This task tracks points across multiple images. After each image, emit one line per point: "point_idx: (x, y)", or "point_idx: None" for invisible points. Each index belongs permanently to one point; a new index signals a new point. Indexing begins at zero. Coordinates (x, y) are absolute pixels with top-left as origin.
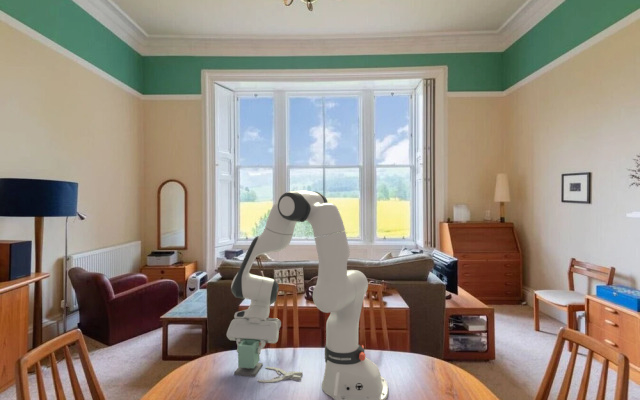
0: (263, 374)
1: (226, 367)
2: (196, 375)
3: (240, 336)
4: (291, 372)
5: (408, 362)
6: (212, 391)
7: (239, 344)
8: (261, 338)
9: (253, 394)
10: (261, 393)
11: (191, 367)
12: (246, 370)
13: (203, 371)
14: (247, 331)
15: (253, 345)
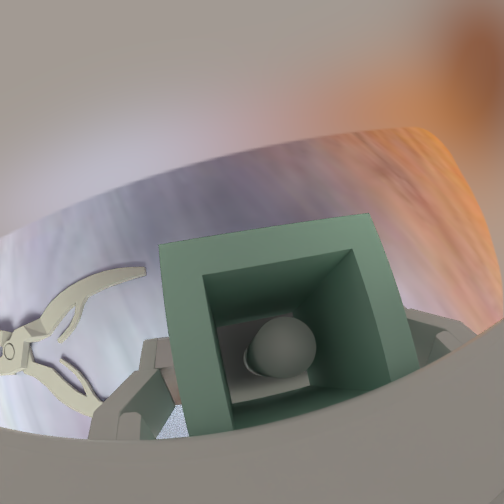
0: None
1: None
2: (437, 224)
3: (476, 347)
4: (11, 360)
5: None
6: (302, 154)
7: (378, 245)
8: (110, 447)
9: (127, 184)
10: (98, 199)
11: (486, 263)
12: (254, 321)
13: (442, 256)
14: (468, 448)
15: (177, 281)
